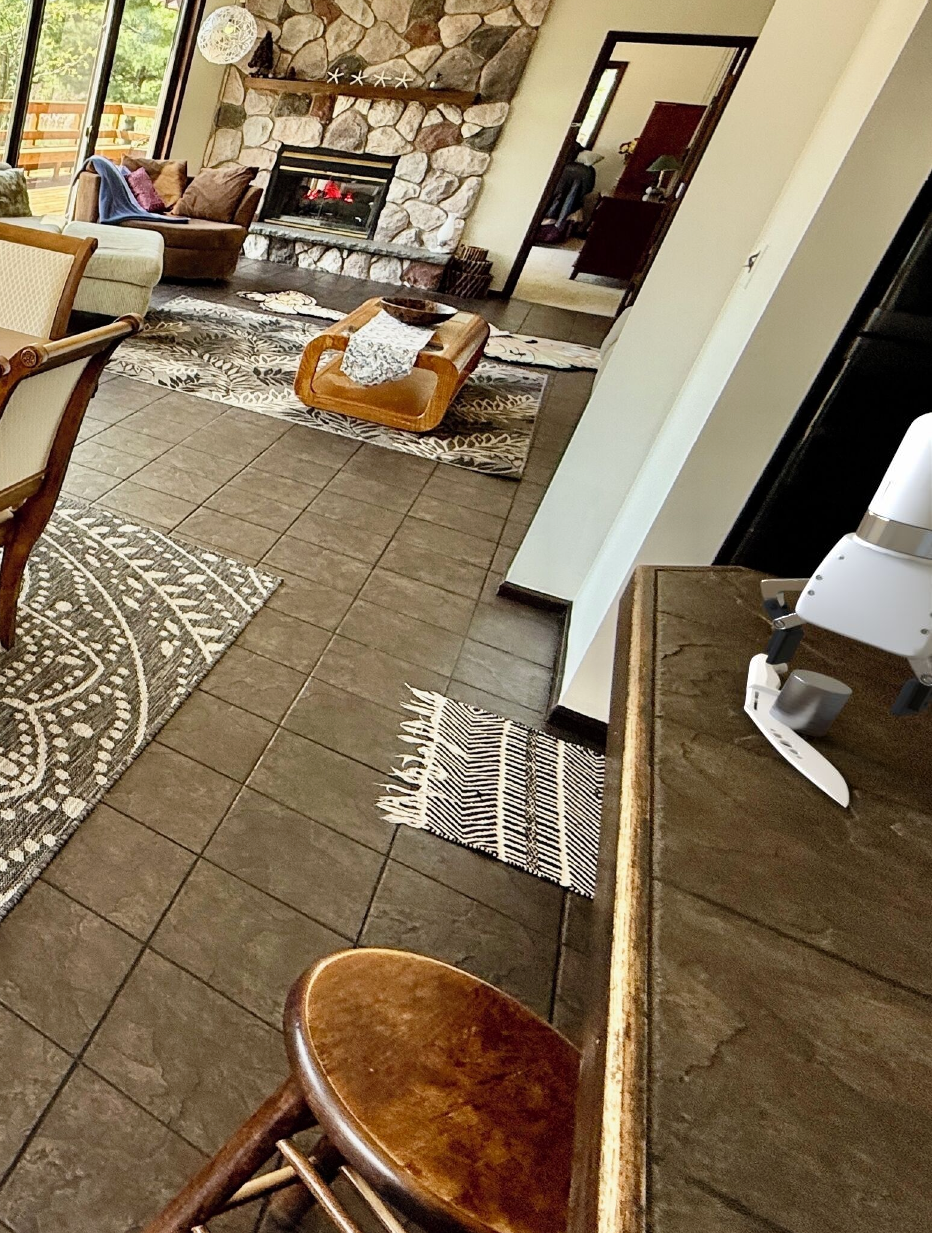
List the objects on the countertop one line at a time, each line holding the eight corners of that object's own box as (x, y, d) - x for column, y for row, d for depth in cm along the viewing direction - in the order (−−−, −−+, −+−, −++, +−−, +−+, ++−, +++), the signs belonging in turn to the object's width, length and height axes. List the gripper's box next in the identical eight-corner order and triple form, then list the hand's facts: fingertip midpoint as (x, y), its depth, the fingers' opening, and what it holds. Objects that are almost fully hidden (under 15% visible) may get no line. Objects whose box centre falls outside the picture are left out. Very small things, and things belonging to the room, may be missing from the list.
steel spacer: (835, 733, 96) (862, 690, 94) (811, 739, 94) (837, 696, 92) (782, 708, 99) (806, 667, 97) (758, 714, 98) (783, 672, 96)
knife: (854, 802, 84) (740, 758, 90) (844, 815, 85) (732, 771, 90) (847, 680, 103) (754, 649, 109) (840, 691, 104) (747, 660, 109)
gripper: (1075, 572, 82) (979, 729, 87) (820, 503, 97) (753, 641, 103) (1033, 581, 79) (937, 742, 85) (778, 508, 94) (712, 649, 100)
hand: (836, 686), depth 94 cm, fingers open, 9 cm apart
